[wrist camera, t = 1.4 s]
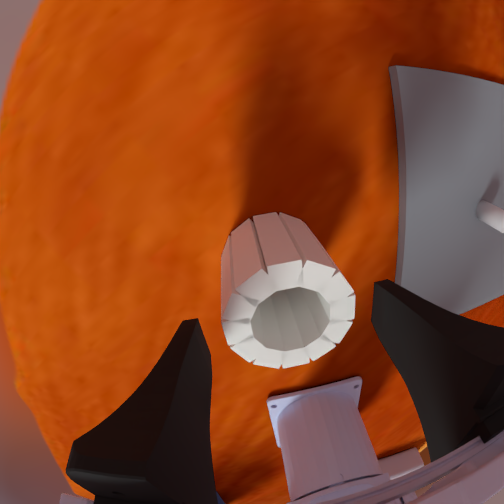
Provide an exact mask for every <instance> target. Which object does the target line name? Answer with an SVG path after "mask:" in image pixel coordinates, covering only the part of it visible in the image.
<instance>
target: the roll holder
mask: <svg viewBox="0 0 504 504" xmlns="http://www.w3.org/2000/svg"><path fill="white" fill-rule="evenodd" d="M389 73H390V79H391V86H392V93H393V101H394V110H395V119H396V130H397V144H398V163H399V231H398V250H397V264H396V276H395V283H396V284H398V285H400V286H401V287H403V288H405V289H407V290H409V291H411V292H412V293H414V294H416V295H418V296H420V297H422V298H423V299H425V300H427V301H429V302H431V303H433V304H435V305H437V306H439V307H441V308H444V309H446V310H448V311H450V312H452V313H455V314H457V315H459V314H461V313H464V312H466V311H469V310H471V309H473V308H475V307H478V306H480V305H482V304H484V303H487V302H489V301H491V300H493V299H495V298H497V297H499V296H501V295H503V294H504V85H502V84H499V83H495V82H491V81H488V80H484V79H479V78H475V77H471V76H466V75H461V74H456V73H451V72H445V71H439V70H432V69H425V68H417V67H408V66H398V65H395V66H391V67H389Z"/></svg>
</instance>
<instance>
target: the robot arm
mask: <svg viewBox="0 0 504 504" xmlns="http://www.w3.org/2000/svg"><path fill="white" fill-rule="evenodd" d="M371 321H372V324H373V326H374V328H375V331H376V333H377V335H378V337H379V340H380V341H381V343H382V345H383V346H384V348H385V350H386V351H387V353H388V355H389V356H390V358H391V359H392V361H393V363H394V364H395V366H396V368H397V369H398V371H399V373H400V374H401V376H402V378H403V380H404V381H405V383H406V385H407V388H408V390H409V392H410V395H411V397H412V399H413V402H414V404H415V407H416V410H417V413H418V415H419V418H420V421H421V424H422V428H423V431H424V434H425V438H426V442H427V446H428V449H429V454H430V459H431V463H430V464H428V465H425V466H423V467H421V468H419V469H417V470H415V471H412V472H410V473H408V474H406V475H403V476H401V477H398V478H395V479H393V480H391V479H390V476H389V474H388V473H384V474H383V473H382V470H381V467H380V465H379V462H378V459H377V457H376V454H375V452H374V449H373V446H372V444H371V441H370V439H369V436H368V434H367V431H366V428H365V426H364V423H363V421H362V418H361V416H360V413H359V411H358V403H359V398H360V392H361V386H362V379H361V377H359V376H357V377H353V378H349V379H346V380H342V381H339V382H335V383H331V384H327V385H323V386H319V387H315V388H311V389H306V390H302V391H297V392H293V393H288V394H283V395H278V396H272V397H269V398H268V399H267V405H268V409H269V414H270V418H271V422H272V426H273V430H274V434H275V438H276V442H277V446H278V447H280V448H281V451H282V456H283V462H284V467H285V473H286V478H287V484H288V489H289V495H290V500H291V502H287V503H286V504H483V503H484V502H485V501H487V500H488V499H490V498H491V497H492V496H494V495H495V494H496V493H498V492H499V491H500V490H501V489H502V488H504V328H503V327H497V326H493V325H488V324H485V323H481V322H478V321H474V320H471V319H468V318H465V317H463V316H460V315H457V314H455V313H452V312H450V311H448V310H446V309H444V308H441V307H439V306H437V305H435V304H433V303H431V302H429V301H427V300H425V299H423V298H422V297H420V296H418V295H416V294H414V293H412V292H411V291H409V290H407V289H405V288H403V287H401V286H400V285H398V284H396V283H394V282H392V281H390V280H388V279H386V280H382V281H378V282H374V294H373V307H372V317H371ZM211 389H212V365H211V354H210V351H209V348H208V346H207V343H206V340H205V337H204V335H203V332H202V329H201V326H200V323H199V320H198V318H197V319H191V320H184V321H182V323H181V324H180V326H179V328H178V330H177V331H176V333H175V335H174V336H173V338H172V340H171V341H170V343H169V345H168V346H167V348H166V350H165V351H164V353H163V354H162V356H161V358H160V359H159V361H158V362H157V363H156V365H155V366H154V368H153V369H152V371H151V372H150V373H149V375H148V376H147V377H146V379H145V380H144V381H143V383H142V384H141V385H140V386H139V387H138V388H137V390H136V391H135V392H134V393H133V394H132V395H131V396H130V397H129V398H128V399H127V400H126V401H125V402H124V403H123V404H122V405H121V406H120V407H119V408H118V409H117V410H116V411H115V412H113V413H112V414H111V415H110V416H109V417H108V418H106V419H105V420H104V421H102V422H101V423H100V424H99V425H97V426H96V427H95V428H93V429H92V430H90V431H89V432H87V433H86V434H84V435H82V436H81V437H79V438H78V439H76V440H74V442H73V445H72V448H71V452H70V456H69V459H68V463H67V467H66V474H67V475H68V476H69V478H70V479H71V480H73V481H74V482H75V483H77V484H78V485H80V486H81V487H83V488H84V489H86V490H88V491H89V492H91V493H93V494H94V495H95V500H94V501H91V500H89V499H85V498H82V497H77V496H74V495H70V494H66V493H62V494H61V498H60V503H59V504H218V500H217V494H216V488H215V481H214V473H213V465H212V455H211V444H210V406H211ZM446 475H447V476H446ZM444 476H445V477H444ZM442 477H443V478H442ZM440 478H442V479H440ZM439 479H440V480H439ZM437 480H439V481H437ZM435 481H437V482H436V483H434V484H433V485H432V487H431V488H430V489H429V490H428V491H426V492H425V493H424V494H422V495H421V496H420V497H418V498H417V496H416V494H415V492H414V491H416V490H418V489H420V488H422V487H425V486H427V485H429V484H431V483H432V482H435Z"/></svg>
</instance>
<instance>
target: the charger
mask: <svg viewBox="0 0 504 504" xmlns="http://www.w3.org/2000/svg"><path fill="white" fill-rule="evenodd" d="M378 462H379V465H380V467H381V470H382V473H383V474H384V473H388V474H389V476H390V479H391V480H393V479H395V478H398V477H401V476H403V475H406V474H408V473H410V472H412V471H415V470H417V469H419V468H421V467H423V466H424V463H423V461H422V458H421V456H420V454H419V452H418V450H417V448H416V447H414V448H411V449H408V450H406V451H403V452H400V453H397V454H394V455H391V456H388V457H385V458H382V459H379V460H378Z"/></svg>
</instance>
